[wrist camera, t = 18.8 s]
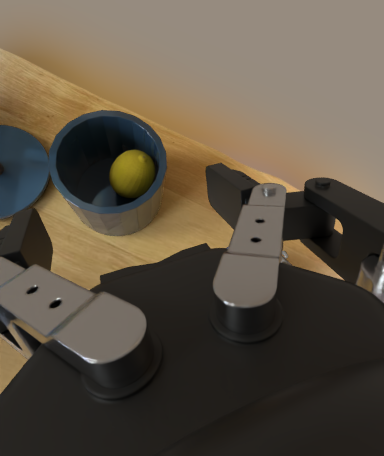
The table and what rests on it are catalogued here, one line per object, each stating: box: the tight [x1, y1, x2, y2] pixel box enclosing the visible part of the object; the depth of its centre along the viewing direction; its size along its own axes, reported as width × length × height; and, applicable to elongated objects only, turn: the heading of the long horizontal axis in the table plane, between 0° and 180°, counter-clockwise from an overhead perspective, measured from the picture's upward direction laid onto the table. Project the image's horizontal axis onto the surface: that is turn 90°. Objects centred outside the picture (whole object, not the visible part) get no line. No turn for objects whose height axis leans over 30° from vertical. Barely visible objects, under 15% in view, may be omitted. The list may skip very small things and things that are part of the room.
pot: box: [48, 110, 167, 236], centre depth 36 cm, size 13×13×10 cm
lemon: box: [109, 150, 156, 198], centre depth 37 cm, size 6×6×8 cm
